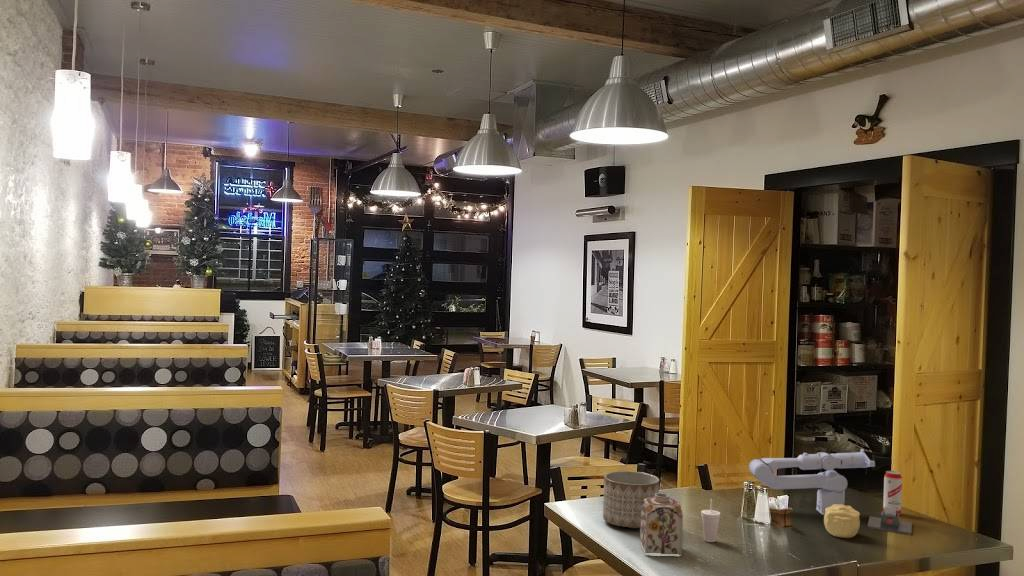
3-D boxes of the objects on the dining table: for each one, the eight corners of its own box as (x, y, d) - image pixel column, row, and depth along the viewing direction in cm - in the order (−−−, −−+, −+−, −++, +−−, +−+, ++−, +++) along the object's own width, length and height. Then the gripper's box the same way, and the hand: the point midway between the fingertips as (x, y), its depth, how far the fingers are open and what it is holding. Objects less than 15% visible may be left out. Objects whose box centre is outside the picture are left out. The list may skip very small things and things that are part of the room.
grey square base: (867, 528, 276) (867, 515, 276) (869, 518, 288) (870, 506, 288) (911, 535, 269) (911, 522, 269) (911, 524, 282) (912, 512, 282)
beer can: (904, 516, 292) (905, 474, 292) (887, 515, 292) (888, 474, 292) (896, 511, 298) (897, 470, 298) (879, 511, 298) (881, 470, 298)
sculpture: (824, 537, 263) (825, 506, 263) (822, 528, 275) (823, 497, 275) (860, 542, 259) (861, 511, 259) (857, 532, 271) (858, 502, 271)
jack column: (883, 526, 278) (884, 507, 278) (884, 523, 281) (884, 504, 281) (895, 528, 276) (896, 508, 276) (895, 525, 279) (896, 506, 279)
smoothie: (720, 539, 258) (721, 498, 258) (719, 545, 252) (720, 503, 252) (700, 537, 260) (702, 495, 260) (699, 542, 254) (700, 500, 254)
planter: (655, 535, 260) (656, 486, 260) (598, 528, 266) (600, 481, 265) (660, 519, 279) (661, 473, 279) (607, 513, 284) (608, 468, 284)
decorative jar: (639, 543, 251) (641, 489, 251) (675, 545, 251) (677, 490, 251) (644, 556, 239) (646, 499, 239) (682, 558, 239) (684, 500, 239)
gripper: (857, 453, 286) (894, 452, 285) (842, 445, 300) (878, 444, 300) (858, 472, 286) (895, 471, 285) (843, 463, 300) (879, 462, 300)
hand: (886, 458), depth 292 cm, fingers open, 7 cm apart
